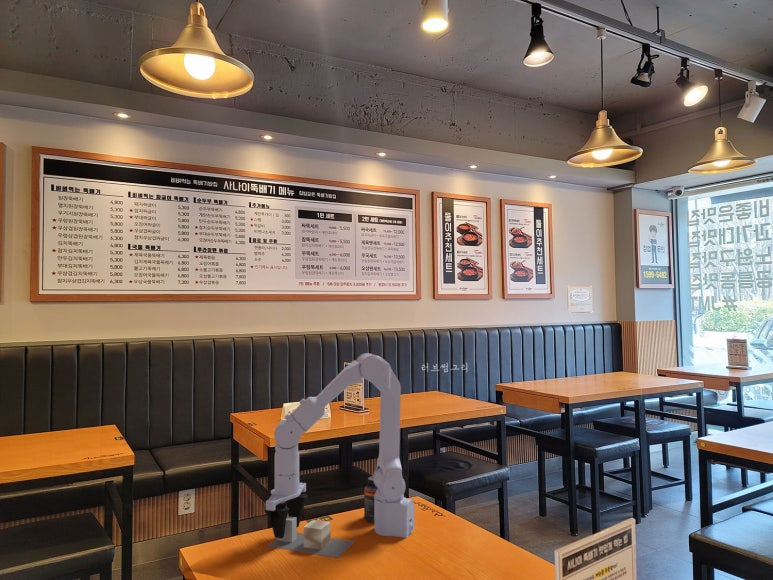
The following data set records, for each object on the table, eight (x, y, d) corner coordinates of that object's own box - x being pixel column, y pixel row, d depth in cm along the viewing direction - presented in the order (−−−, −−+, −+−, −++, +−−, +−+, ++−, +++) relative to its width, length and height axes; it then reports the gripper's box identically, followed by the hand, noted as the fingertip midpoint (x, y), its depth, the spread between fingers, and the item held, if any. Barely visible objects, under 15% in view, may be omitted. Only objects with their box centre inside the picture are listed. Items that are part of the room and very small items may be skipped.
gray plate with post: (355, 545, 121) (355, 519, 122) (338, 562, 113) (337, 534, 113) (287, 535, 128) (287, 510, 128) (266, 550, 119) (266, 523, 120)
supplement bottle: (384, 527, 132) (384, 482, 133) (361, 526, 133) (361, 480, 134) (389, 519, 138) (388, 475, 139) (367, 517, 139) (367, 474, 140)
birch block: (330, 542, 121) (330, 522, 122) (321, 550, 117) (321, 529, 117) (313, 539, 123) (313, 519, 123) (303, 547, 119) (303, 526, 119)
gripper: (288, 463, 132) (288, 518, 131) (254, 479, 118) (254, 541, 118) (313, 465, 129) (313, 522, 129) (281, 482, 116) (281, 546, 115)
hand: (286, 531), depth 123 cm, fingers open, 6 cm apart
